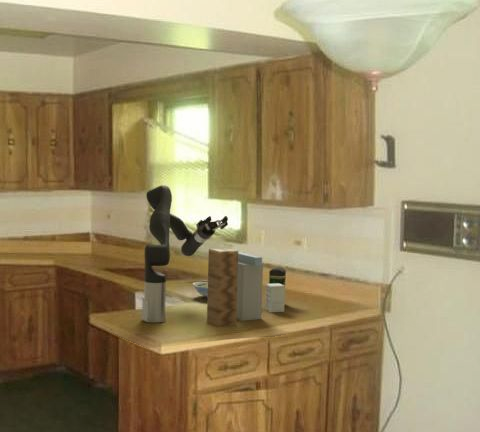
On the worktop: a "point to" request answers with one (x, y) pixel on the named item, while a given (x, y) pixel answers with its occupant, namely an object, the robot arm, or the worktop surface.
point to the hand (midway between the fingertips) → (218, 217)
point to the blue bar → (249, 259)
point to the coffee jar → (277, 276)
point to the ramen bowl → (201, 287)
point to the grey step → (249, 291)
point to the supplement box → (274, 297)
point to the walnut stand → (222, 287)
